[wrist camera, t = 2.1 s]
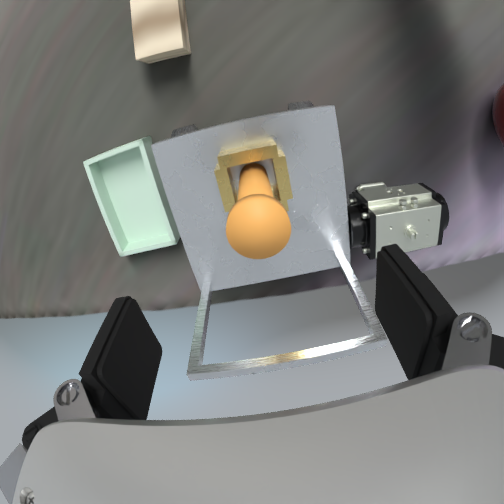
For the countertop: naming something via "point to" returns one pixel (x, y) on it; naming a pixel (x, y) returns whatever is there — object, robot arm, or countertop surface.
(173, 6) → the block
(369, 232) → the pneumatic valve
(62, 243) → the countertop surface
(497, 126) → the round-bottom flask
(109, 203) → the tray
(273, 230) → the pin
